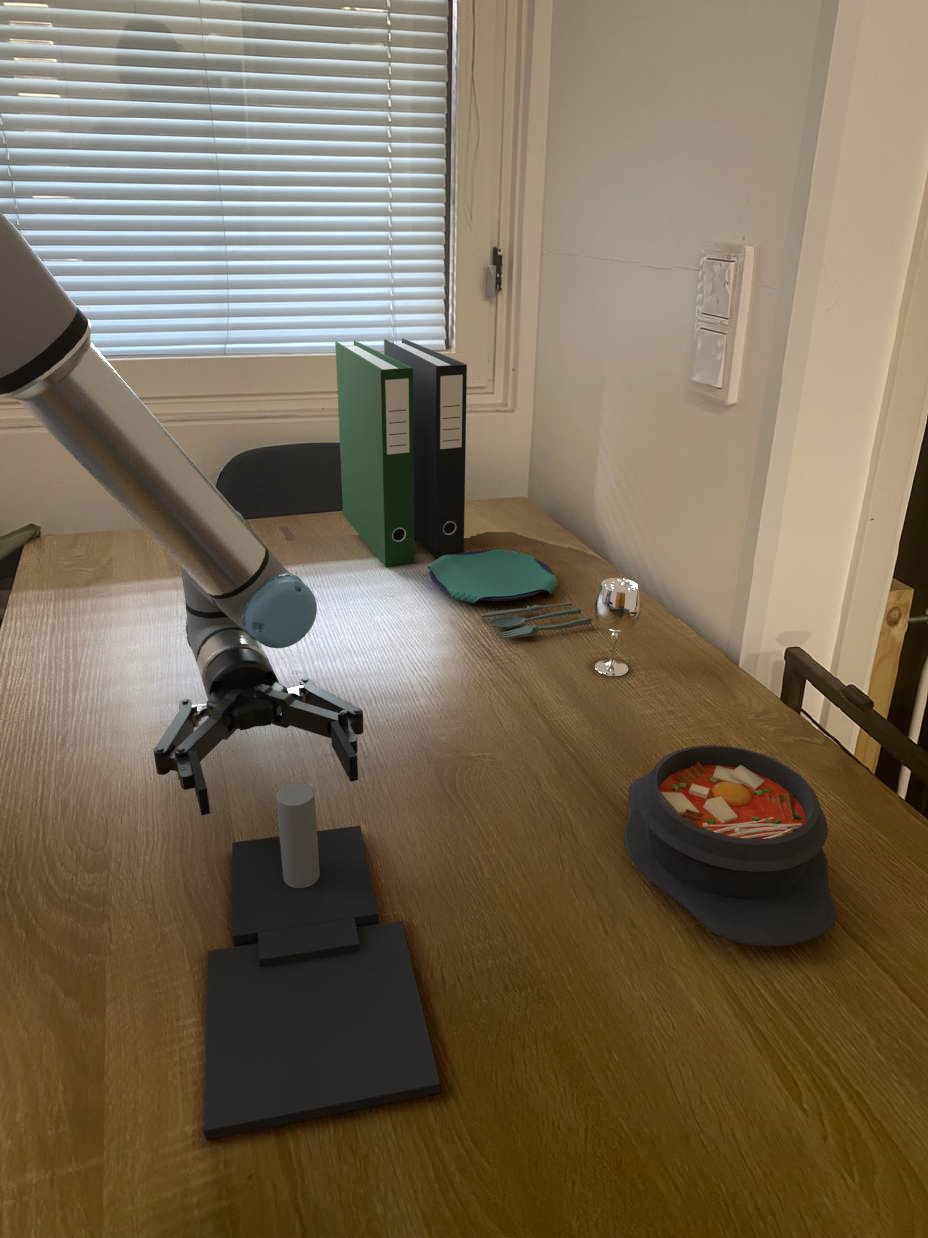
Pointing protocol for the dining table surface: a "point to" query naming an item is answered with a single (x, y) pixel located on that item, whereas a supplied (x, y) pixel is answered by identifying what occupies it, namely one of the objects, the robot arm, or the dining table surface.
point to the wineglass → (616, 617)
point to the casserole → (734, 844)
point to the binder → (402, 448)
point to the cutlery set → (501, 586)
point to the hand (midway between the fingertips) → (281, 785)
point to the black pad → (313, 1034)
